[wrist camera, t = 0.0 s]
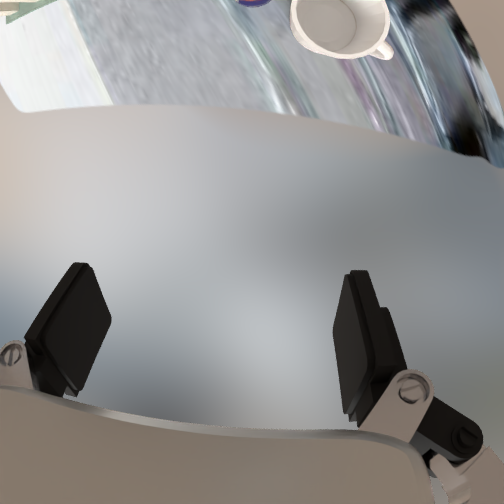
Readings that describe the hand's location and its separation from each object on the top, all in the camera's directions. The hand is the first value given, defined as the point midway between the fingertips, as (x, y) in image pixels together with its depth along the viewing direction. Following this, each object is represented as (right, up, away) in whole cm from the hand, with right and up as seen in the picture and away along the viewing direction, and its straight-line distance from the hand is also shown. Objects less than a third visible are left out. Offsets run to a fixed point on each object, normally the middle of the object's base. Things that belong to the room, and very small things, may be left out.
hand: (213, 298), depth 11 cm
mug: (+11, +28, +18) cm, 35 cm away
